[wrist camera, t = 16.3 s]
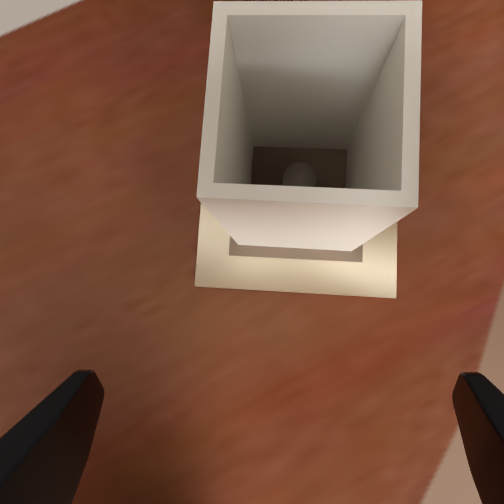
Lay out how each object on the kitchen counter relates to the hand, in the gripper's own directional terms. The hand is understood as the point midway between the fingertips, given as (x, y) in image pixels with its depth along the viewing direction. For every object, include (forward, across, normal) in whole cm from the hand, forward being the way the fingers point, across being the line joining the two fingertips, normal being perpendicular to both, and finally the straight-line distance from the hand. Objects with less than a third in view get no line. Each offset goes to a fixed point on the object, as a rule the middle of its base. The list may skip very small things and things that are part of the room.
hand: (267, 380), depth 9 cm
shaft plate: (+15, -1, +3) cm, 16 cm away
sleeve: (+15, -1, +2) cm, 15 cm away
